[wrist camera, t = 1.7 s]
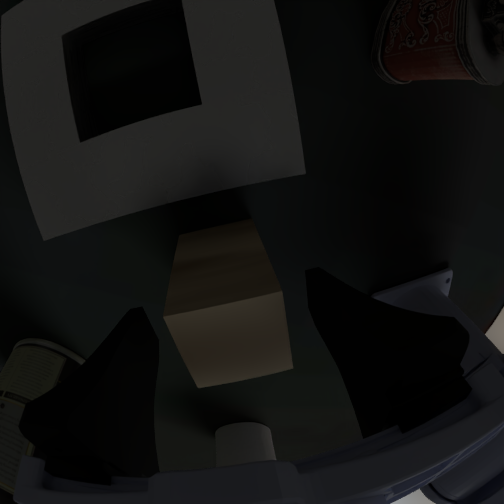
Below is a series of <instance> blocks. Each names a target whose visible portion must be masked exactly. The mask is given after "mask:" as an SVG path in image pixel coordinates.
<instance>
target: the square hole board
mask: <svg viewBox="0 0 504 504" xmlns="http://www.w3.org/2000/svg"><path fill="white" fill-rule="evenodd" d="M183 11H184V15H185V20H186V26H187V31H188V36H189V41H190V46H191V51H192V57H193V62H194V67H195V72H196V77H197V82H198V86H199V91H200V96H201V101H202V105H198V106H194V107H189V108H185V109H181V110H178V111H174V112H170V113H166V114H163V115H159V116H156V117H152V118H149V119H146V120H142V121H139V122H136V123H133V124H130V125H127V126H124V127H121V128H118V129H115V130H112V131H110V132H107V133H104V134H102V135H99V134H98V130H97V125H96V121H95V116H94V112H93V107H92V102H91V97H90V92H89V86H88V80H87V74H86V68H85V62H84V55H83V47H82V45H84V44H86V43H88V42H91V41H93V40H95V39H98V38H100V37H103V36H105V35H108V34H110V33H113V32H115V31H118V30H121V29H124V28H127V27H129V26H132V25H135V24H139V23H142V22H145V21H148V20H152V19H155V18H159V17H162V16H166V15H170V14H174V13H178V12H183ZM1 59H2V74H3V85H4V94H5V101H6V108H7V114H8V120H9V126H10V131H11V136H12V141H13V145H14V149H15V154H16V158H17V162H18V165H19V169H20V173H21V176H22V180H23V183H24V186H25V190H26V193H27V196H28V199H29V202H30V205H31V208H32V211H33V214H34V216H35V219H36V222H37V224H38V227H39V230H40V232H41V235H42V237H43V240H44V241H45V240H48V239H51V238H54V237H57V236H59V235H62V234H65V233H68V232H72V231H75V230H78V229H81V228H84V227H87V226H90V225H93V224H97V223H100V222H103V221H107V220H110V219H113V218H117V217H120V216H124V215H127V214H131V213H134V212H138V211H141V210H145V209H149V208H152V207H156V206H160V205H164V204H167V203H171V202H175V201H179V200H183V199H187V198H191V197H196V196H200V195H204V194H208V193H213V192H217V191H221V190H226V189H230V188H235V187H240V186H244V185H249V184H254V183H259V182H264V181H269V180H274V179H279V178H285V177H290V176H296V175H301V174H306V172H305V164H304V157H303V150H302V143H301V136H300V130H299V123H298V117H297V111H296V105H295V99H294V93H293V88H292V82H291V77H290V72H289V67H288V62H287V57H286V52H285V47H284V42H283V38H282V33H281V28H280V24H279V20H278V15H277V11H276V7H275V3H274V0H23V1H22V2H20V3H19V4H17V5H16V6H15V7H13V8H12V9H10V10H9V11H7V12H6V13H5V14H3V15H2V17H1Z"/></svg>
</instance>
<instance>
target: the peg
mask: <svg viewBox="0 0 504 504" xmlns="http://www.w3.org/2000/svg"><path fill="white" fill-rule="evenodd" d="M163 317H164V320H165V322H166V324H167V326H168V328H169V331H170V333H171V335H172V337H173V339H174V341H175V343H176V345H177V348H178V350H179V352H180V354H181V356H182V358H183V360H184V362H185V364H186V366H187V368H188V370H189V372H190V374H191V375H192V377H193V379H194V381H195V383H196V385H197V387H198V388H202V387H208V386H214V385H220V384H225V383H231V382H236V381H241V380H246V379H250V378H255V377H260V376H264V375H268V374H273V373H277V372H281V371H285V370H289V369H293V365H292V357H291V350H290V343H289V335H288V328H287V321H286V314H285V307H284V300H283V294H282V290H281V287H280V285H279V282H278V280H277V277H276V275H275V273H274V270H273V268H272V265H271V263H270V261H269V258H268V256H267V253H266V251H265V249H264V246H263V244H262V241H261V239H260V237H259V234H258V232H257V230H256V227H255V225H254V222H253V220H252V218H251V219H247V220H242V221H238V222H233V223H229V224H224V225H220V226H215V227H211V228H207V229H202V230H198V231H194V232H190V233H185V234H181V235H179V238H178V242H177V247H176V252H175V257H174V261H173V266H172V271H171V276H170V282H169V287H168V292H167V298H166V304H165V309H164V315H163Z"/></svg>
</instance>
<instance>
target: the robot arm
mask: <svg viewBox="0 0 504 504" xmlns="http://www.w3.org/2000/svg"><path fill="white" fill-rule="evenodd" d="M305 274H306V285H307V296H308V308H309V310H310V313H311V316H312V318H313V321H314V323H315V326H316V328H317V330H318V331H319V333H320V335H321V337H322V339H323V341H324V342H325V344H326V346H327V348H328V350H329V351H330V353H331V355H332V357H333V359H334V360H335V362H336V364H337V366H338V368H339V371H340V373H341V376H342V378H343V381H344V383H345V386H346V388H347V391H348V394H349V396H350V399H351V402H352V405H353V408H354V411H355V414H356V417H357V420H358V423H359V426H360V429H361V433H362V436H363V439H362V440H359V441H356V442H354V443H351V444H348V445H345V446H342V447H339V448H336V449H333V450H330V451H327V452H323V453H320V454H317V455H313V456H310V457H306V458H302V459H298V460H294V461H290V462H288V461H282V460H265V461H255V462H249V463H243V464H236V465H229V466H222V467H213V468H203V469H191V470H174V471H165V472H160V471H159V466H158V460H157V452H156V444H155V432H154V396H155V388H156V380H157V372H158V364H159V340H158V338H157V336H156V334H155V332H154V330H153V328H152V326H151V324H150V322H149V319H148V317H147V315H146V313H145V311H144V309H143V307H138V308H133V309H130V310H129V311H128V312H127V313H126V314H125V315H124V317H123V318H122V319H121V320H120V322H119V323H118V324H117V325H116V327H115V328H114V329H113V330H112V331H111V333H110V334H109V335H108V336H107V338H106V339H105V340H104V341H103V342H102V343H101V345H100V346H99V347H98V348H97V349H96V350H95V352H94V353H93V354H92V355H91V356H90V357H89V358H88V359H87V360H86V361H85V362H84V363H83V364H82V365H81V366H80V367H79V368H78V369H77V370H75V371H74V372H73V373H72V374H71V375H69V376H68V377H67V378H66V379H65V380H63V381H62V382H61V383H59V384H58V385H57V386H55V387H54V388H52V389H51V390H49V391H48V392H46V393H45V394H43V395H41V396H39V397H38V398H36V399H34V400H32V401H30V402H28V403H26V405H25V408H24V411H23V414H22V417H21V419H20V422H19V426H18V427H19V430H20V432H21V433H22V435H23V436H24V437H25V438H26V439H27V440H28V441H29V442H31V443H32V444H33V445H34V446H36V447H37V448H38V449H39V450H41V451H42V452H43V453H44V454H46V455H47V459H46V461H44V460H42V459H40V458H36V457H32V456H28V455H22V459H21V463H20V467H19V471H18V476H17V480H16V485H15V490H14V495H13V500H14V501H15V502H17V503H19V504H390V503H392V502H394V501H396V500H399V499H401V498H402V497H405V496H406V495H408V494H410V493H412V492H414V491H416V490H418V489H419V488H420V490H421V491H422V493H423V494H424V495H425V496H426V497H427V498H428V499H430V500H431V501H432V502H434V503H436V504H504V354H502V353H501V352H500V351H499V350H498V349H497V347H496V346H495V345H494V344H493V343H492V342H491V341H490V340H489V339H488V338H487V337H486V335H485V334H484V333H483V332H482V331H481V330H480V329H479V328H478V327H477V326H476V325H475V324H474V323H473V322H472V321H471V320H470V319H469V318H468V317H467V316H466V315H465V314H464V313H463V312H462V311H461V310H460V309H459V308H458V307H457V306H456V305H455V304H454V303H453V302H452V301H451V300H450V299H449V298H448V293H449V289H450V284H451V280H452V275H453V271H452V270H451V269H450V268H446V269H444V270H441V271H438V272H436V273H433V274H430V275H427V276H424V277H422V278H419V279H416V280H413V281H410V282H407V283H404V284H401V285H398V286H395V287H392V288H389V289H386V290H382V291H379V292H376V293H374V294H373V295H371V297H370V296H368V295H366V294H364V293H362V292H360V291H358V290H356V289H354V288H352V287H351V286H349V285H347V284H345V283H344V282H342V281H340V280H339V279H337V278H335V277H334V276H332V275H331V274H329V273H327V272H326V271H324V270H323V269H321V268H319V267H317V268H313V269H309V270H305Z"/></svg>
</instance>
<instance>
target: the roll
mask: <svg viewBox="0 0 504 504" xmlns="http://www.w3.org/2000/svg"><path fill="white" fill-rule="evenodd" d="M215 437H216V466H217V467H222V466H229V465H236V464H243V463H249V462H255V461H265V460H276V457H275V453H274V448H273V443H272V437H271V431H270V429H269V428H268V427H267V426H265V425H263V424H260V423H256V422H240V423H233V424H228V425H225V426H222V427H220V428H218V429H217V430H216V432H215Z"/></svg>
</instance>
